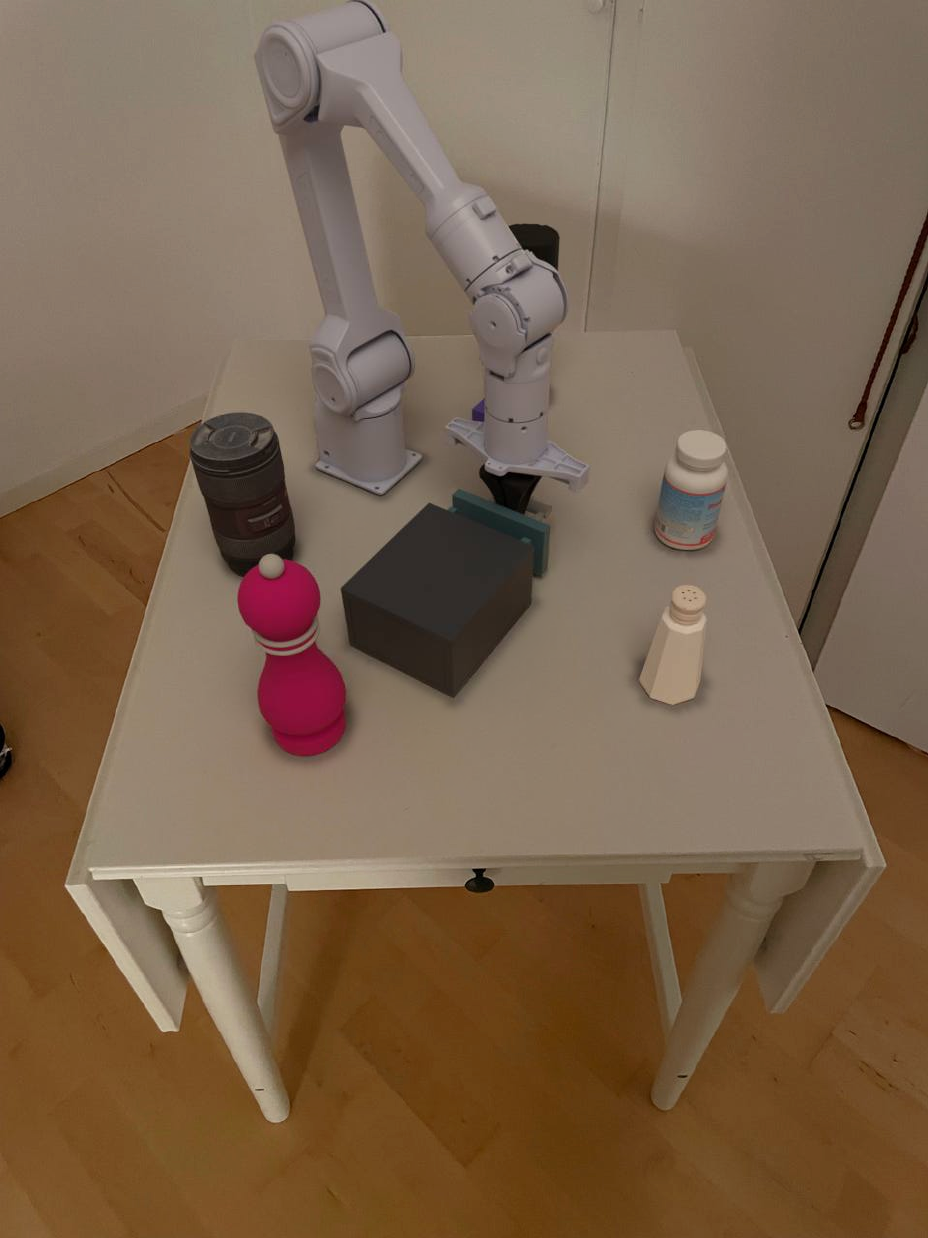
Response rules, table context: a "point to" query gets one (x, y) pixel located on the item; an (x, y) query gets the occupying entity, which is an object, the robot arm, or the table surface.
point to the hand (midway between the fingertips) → (513, 520)
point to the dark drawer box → (439, 597)
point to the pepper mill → (292, 657)
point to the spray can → (538, 243)
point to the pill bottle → (692, 491)
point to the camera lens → (244, 488)
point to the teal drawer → (509, 522)
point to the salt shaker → (677, 648)
